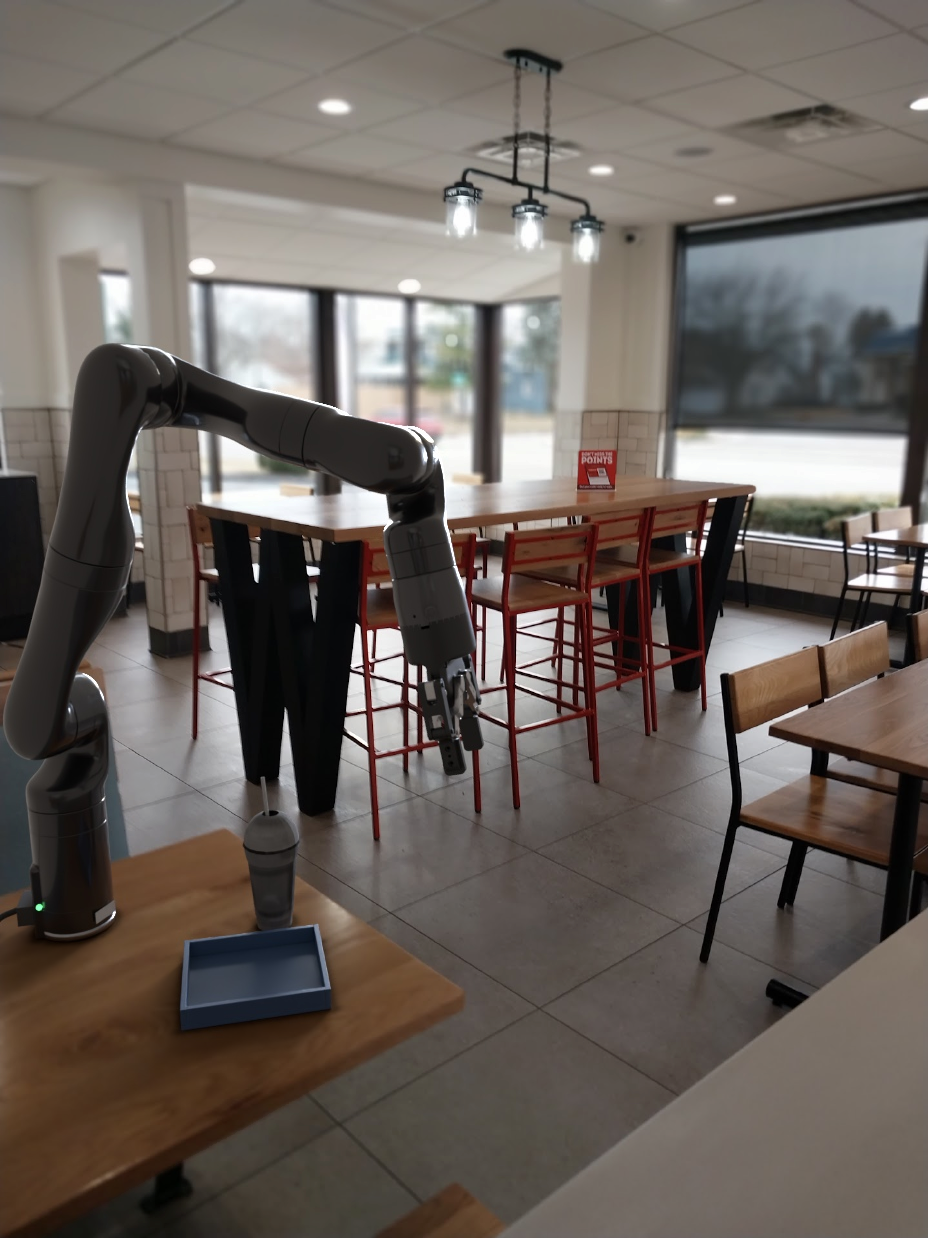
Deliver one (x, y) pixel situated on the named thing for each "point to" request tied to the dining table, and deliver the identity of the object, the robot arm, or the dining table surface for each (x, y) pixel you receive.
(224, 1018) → the tray
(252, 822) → the beverage cup
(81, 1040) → the dining table surface
